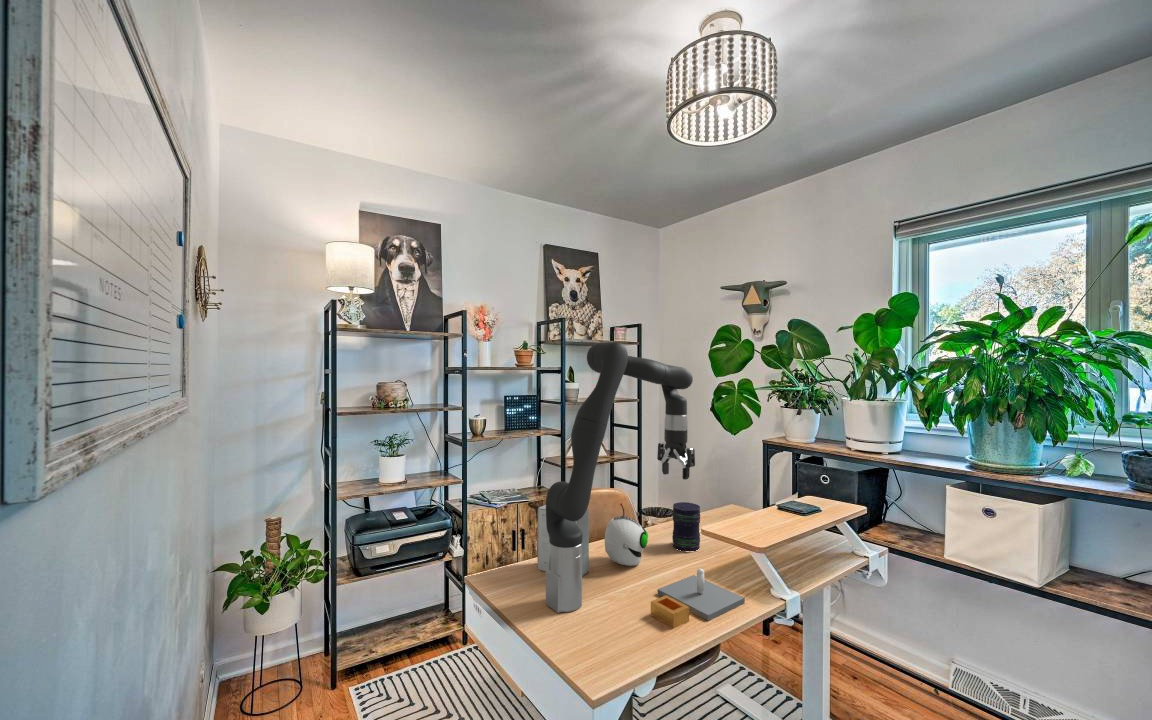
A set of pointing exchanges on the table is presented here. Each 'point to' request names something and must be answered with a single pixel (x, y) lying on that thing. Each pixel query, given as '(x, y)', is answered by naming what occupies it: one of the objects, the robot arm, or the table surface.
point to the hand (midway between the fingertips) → (675, 476)
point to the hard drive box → (544, 540)
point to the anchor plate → (702, 596)
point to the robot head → (625, 540)
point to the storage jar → (686, 526)
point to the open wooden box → (670, 611)
